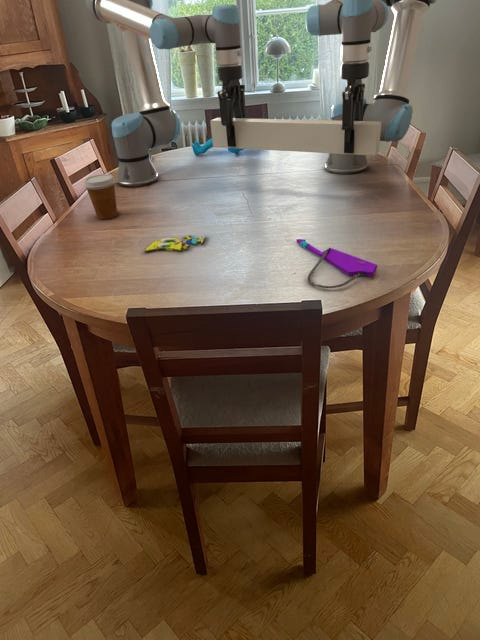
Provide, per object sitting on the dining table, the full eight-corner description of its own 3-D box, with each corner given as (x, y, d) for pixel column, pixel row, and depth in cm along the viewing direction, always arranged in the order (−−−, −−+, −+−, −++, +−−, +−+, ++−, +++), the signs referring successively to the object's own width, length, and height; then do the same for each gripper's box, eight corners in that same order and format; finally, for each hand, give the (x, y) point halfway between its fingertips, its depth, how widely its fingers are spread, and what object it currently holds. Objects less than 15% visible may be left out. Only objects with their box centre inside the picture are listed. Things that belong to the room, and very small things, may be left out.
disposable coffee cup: (86, 219, 152) (76, 182, 146) (104, 209, 159) (95, 173, 153) (111, 222, 149) (102, 183, 142) (128, 211, 156) (120, 174, 149)
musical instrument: (357, 300, 100) (389, 251, 113) (357, 292, 99) (389, 243, 111) (259, 284, 113) (297, 241, 125) (258, 277, 112) (296, 234, 124)
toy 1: (199, 248, 125) (143, 249, 127) (199, 251, 125) (144, 252, 127) (206, 233, 133) (154, 234, 135) (206, 236, 133) (154, 237, 136)
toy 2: (197, 135, 216) (259, 115, 206) (205, 158, 221) (266, 140, 211) (186, 144, 203) (252, 124, 192) (195, 169, 208) (260, 150, 198)
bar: (213, 147, 161) (210, 120, 156) (219, 143, 164) (216, 117, 159) (375, 155, 138) (377, 125, 133) (379, 151, 141) (381, 121, 136)
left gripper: (225, 69, 138) (232, 152, 151) (253, 61, 151) (257, 138, 163) (203, 69, 141) (212, 150, 154) (233, 61, 154) (238, 137, 167)
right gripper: (359, 66, 122) (355, 159, 134) (377, 57, 134) (372, 143, 147) (330, 67, 125) (329, 158, 138) (351, 58, 137) (348, 142, 150)
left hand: (235, 144), depth 159 cm, fingers closed on bar, 5 cm apart
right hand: (351, 150), depth 142 cm, fingers closed on bar, 4 cm apart
